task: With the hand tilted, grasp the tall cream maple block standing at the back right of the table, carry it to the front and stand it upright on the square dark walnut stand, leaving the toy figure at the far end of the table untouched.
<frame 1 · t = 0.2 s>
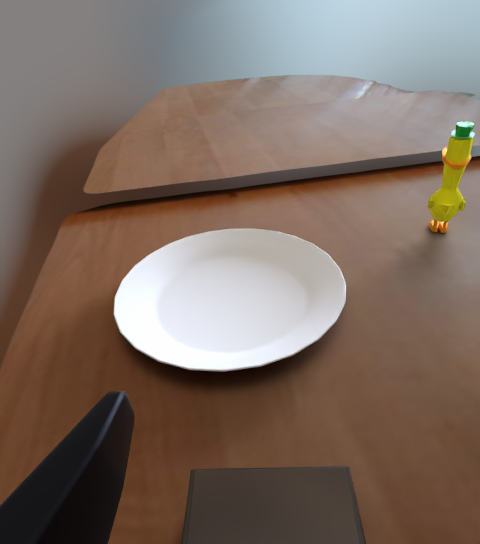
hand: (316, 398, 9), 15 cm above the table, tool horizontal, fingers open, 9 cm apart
plate: (231, 302, 36), on the table
toy figure: (438, 229, 45), on the table
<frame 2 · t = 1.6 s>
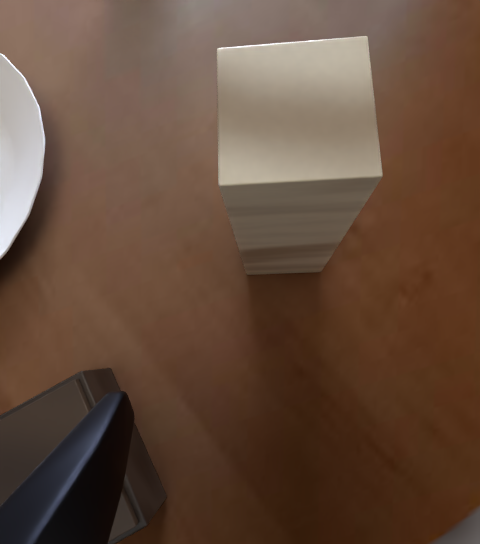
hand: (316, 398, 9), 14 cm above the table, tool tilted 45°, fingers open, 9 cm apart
stand: (77, 463, 22), on the table
block: (281, 237, 24), on the table
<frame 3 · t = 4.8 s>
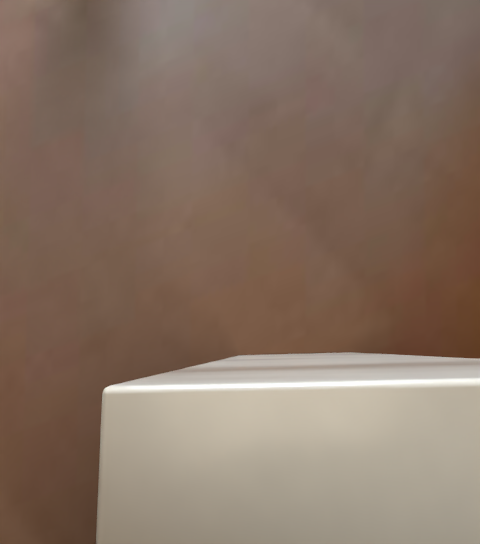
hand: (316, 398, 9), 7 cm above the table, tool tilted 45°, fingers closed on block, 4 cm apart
block: (298, 413, 15), on the table, touching gripper
when the fingers open (11 cm above the table, at t = 10.3 s): block stays where it is, resting on stand.
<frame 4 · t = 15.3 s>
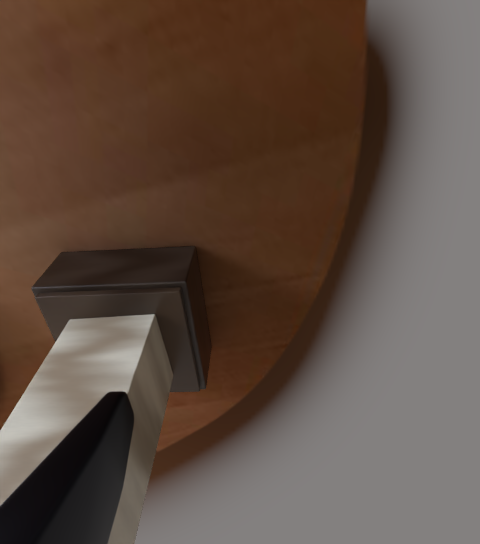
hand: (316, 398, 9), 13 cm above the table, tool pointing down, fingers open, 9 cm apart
stand: (142, 303, 24), on the table
block: (124, 348, 21), point 4 cm above the table, touching stand
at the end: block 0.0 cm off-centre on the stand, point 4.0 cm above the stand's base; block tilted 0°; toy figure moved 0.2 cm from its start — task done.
